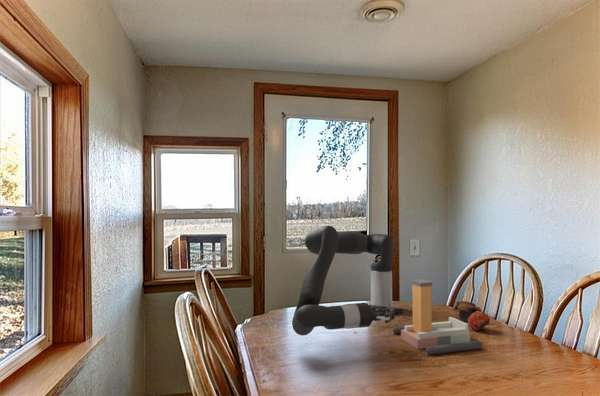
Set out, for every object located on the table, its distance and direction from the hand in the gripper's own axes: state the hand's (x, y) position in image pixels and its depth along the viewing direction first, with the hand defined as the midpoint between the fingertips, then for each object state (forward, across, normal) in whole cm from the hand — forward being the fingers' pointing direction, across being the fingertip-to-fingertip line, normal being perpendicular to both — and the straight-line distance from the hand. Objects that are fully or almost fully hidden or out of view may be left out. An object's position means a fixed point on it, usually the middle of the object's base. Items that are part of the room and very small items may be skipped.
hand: (402, 311), depth 127 cm
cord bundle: (+12, +10, +11) cm, 19 cm away
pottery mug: (+40, +17, +11) cm, 45 cm away
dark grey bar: (+12, -10, +11) cm, 19 cm away
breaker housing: (+12, 0, +11) cm, 17 cm away
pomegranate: (+35, +4, +11) cm, 37 cm away
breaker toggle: (+8, 0, +8) cm, 11 cm away
